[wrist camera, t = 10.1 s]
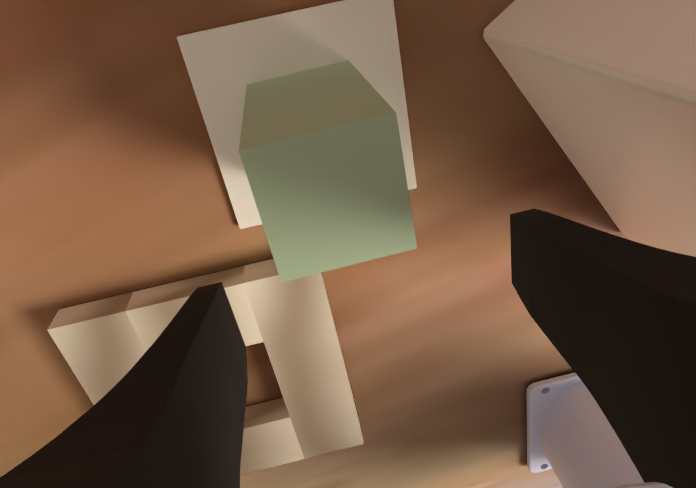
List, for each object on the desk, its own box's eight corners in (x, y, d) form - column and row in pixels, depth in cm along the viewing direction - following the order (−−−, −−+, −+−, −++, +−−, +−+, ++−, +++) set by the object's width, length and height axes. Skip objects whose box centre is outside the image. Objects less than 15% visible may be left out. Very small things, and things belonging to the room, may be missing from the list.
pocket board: (315, 248, 24) (319, 265, 22) (359, 422, 30) (364, 443, 28) (59, 309, 23) (46, 329, 22) (156, 473, 29) (151, 497, 28)
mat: (390, -11, 19) (392, -10, 19) (415, 185, 23) (416, 188, 23) (177, 36, 19) (176, 37, 18) (240, 226, 23) (239, 229, 22)
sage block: (348, 60, 20) (396, 112, 13) (367, 156, 22) (417, 248, 15) (246, 84, 19) (238, 151, 12) (275, 179, 21) (281, 282, 14)
